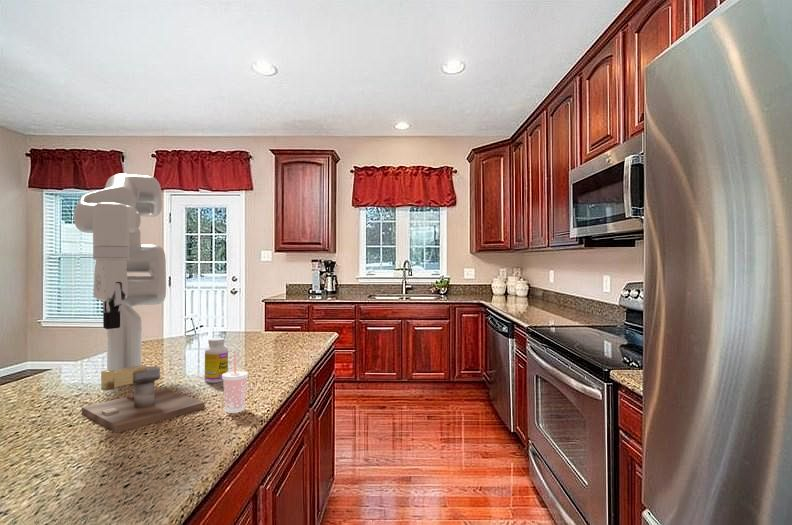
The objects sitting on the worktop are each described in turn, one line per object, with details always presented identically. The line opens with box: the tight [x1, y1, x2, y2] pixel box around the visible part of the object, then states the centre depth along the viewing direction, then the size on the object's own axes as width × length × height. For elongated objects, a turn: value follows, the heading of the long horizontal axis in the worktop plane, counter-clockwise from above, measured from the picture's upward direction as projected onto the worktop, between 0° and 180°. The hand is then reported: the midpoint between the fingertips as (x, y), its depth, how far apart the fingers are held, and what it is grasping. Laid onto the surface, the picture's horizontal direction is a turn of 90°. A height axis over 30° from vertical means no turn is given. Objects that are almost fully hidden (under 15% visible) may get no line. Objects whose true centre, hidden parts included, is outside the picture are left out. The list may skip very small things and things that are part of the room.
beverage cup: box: [222, 353, 249, 414], centre depth 111 cm, size 6×6×14 cm
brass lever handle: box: [100, 364, 161, 391], centre depth 107 cm, size 13×7×4 cm, turn 151°
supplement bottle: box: [204, 337, 229, 384], centre depth 137 cm, size 7×7×13 cm
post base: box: [81, 381, 206, 434], centre depth 110 cm, size 20×20×7 cm
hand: (111, 327), depth 110 cm, fingers closed
